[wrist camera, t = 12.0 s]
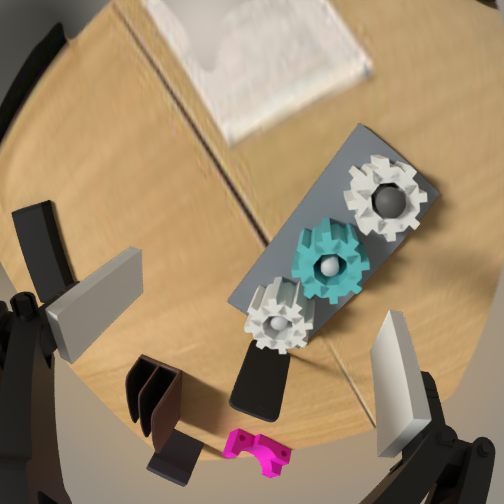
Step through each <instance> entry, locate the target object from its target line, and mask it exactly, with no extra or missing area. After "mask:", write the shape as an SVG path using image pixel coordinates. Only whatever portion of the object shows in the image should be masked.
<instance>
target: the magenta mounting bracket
mask: <svg viewBox="0 0 504 504" xmlns="http://www.w3.org/2000/svg"><path fill="white" fill-rule="evenodd" d="M241 451H247V452H249V453H251V454H253V455H254V456H255V457H256V458H257V459H258V460H259V462H260V464H261V467H262V475H264V476H266V477H268V478H272V477H276V476H280V473H281V469H282V466H283V465H286V464H289V460H290V455H291V450H290V449H288V448H286V447H284V446H282V445H280V444H278V443H276V442H275V441H273V440H271V439H269V438H267V437H265V436H263V435H261V434H259V435H257V436H252V435H250V434H248V433H246V432H245V431H243V430H241V429H239V428H238V429H236V430H234V431H232V432H230V435H229V437H228V440H227V443H226V446H225V449H224V451H223V454H222V455H223V456H224V457H226V458H228V459H230V458H233V457H236V456H238V455H239V453H240V452H241Z"/></svg>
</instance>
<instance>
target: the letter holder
mask: <svg viewBox="0 0 504 504" xmlns="http://www.w3.org/2000/svg"><path fill="white" fill-rule="evenodd" d="M181 382H182V370H179V369H177V368H174V367H172V366H169V365H167V364H164V363H162V362H159V361H157V360H154V359H152V358H150V357H147V356H145V355H143V354H142V355H141V356H140V357H139V358H138V360H137V361H136V362H135V364H134V365H133V367H132V368H131V370H130V371H129V372H128V374H127V376H126V383H125V386H126V396H127V403H128V408H129V412H130V416H131V419H132V421H133V422H134V423H136V422H137V420H138V419H139V417H140V424H141V428H142V431H143V434H144V436H145V437H148V436H149V434H150V433H151V431H152V441H153V445H154V448H155V451H156V453H160V451H161V449H162V448H163V446H164V444H165V443H166V441H167V440H168V438H169V436H170V434H171V433H172V431H173V429H174V427H175V425H176V424H177V422H178V420H179V418H180V400H181Z"/></svg>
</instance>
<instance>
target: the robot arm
mask: <svg viewBox="0 0 504 504" xmlns="http://www.w3.org/2000/svg"><path fill="white" fill-rule="evenodd" d="M485 1H495V0H485ZM142 293H143V273H142V250H141V249H138V248H134V247H131V246H130V247H129V248H128V249H126V250H125V251H123V252H122V253H120V254H119V255H117V256H116V257H114V258H113V259H112V260H110V261H109V262H107V263H106V264H105V265H103V266H102V267H100V268H99V269H98V270H96V271H95V272H93V273H92V274H91V275H89V276H88V277H86V278H85V279H84V280H82V281H81V282H80V281H77V282H75V283H72V284H70V285H68V286H67V287H66V288H64V289H63V290H62V291H60V292H59V293H58V294H57V295H55V296H54V297H52V298H51V299H50V300H48V301H47V302H46V303H44V304H43V305H42V306H40V307H39V308H38V305H37V301H36V297H35V295H34V294H33V293H31V292H20V293H18V294H16V295H14V296H13V297H12V298H11V300H10V304H11V307H12V310H13V312H11V311H8V308H7V305H6V303H5V302H4V301H0V504H72V502H71V500H70V497H69V496H68V494H67V492H66V490H65V488H64V484H63V478H62V473H61V466H60V459H59V452H58V443H57V433H56V420H55V398H54V364H55V357H54V353H53V352H54V351H55V350H56V349H57V348H58V351H59V354H60V357H61V358H63V359H64V360H66V361H68V362H69V363H71V364H73V363H74V362H75V361H76V360H77V359H78V358H79V357H80V356H81V355H82V354H83V353H84V351H85V350H86V349H87V348H88V347H89V346H90V345H91V344H92V343H93V342H94V341H95V340H96V339H97V338H98V337H99V336H100V335H101V334H102V333H103V332H104V331H105V330H106V329H107V328H108V327H109V326H110V325H111V324H112V323H113V322H114V321H115V320H116V319H117V318H118V317H119V316H120V315H121V314H122V313H123V312H124V311H125V310H126V309H127V308H128V307H129V306H130V305H131V304H132V303H133V302H134V301H135V300H136V299H137V298H138V297H139V296H140V295H141V294H142ZM370 355H371V364H372V373H373V383H374V395H375V408H376V426H377V451H378V452H377V455H378V457H390V458H392V457H393V458H394V457H395V456H396V455H398V453H400V452H401V451H402V459H401V460H400V461H399V462H398V463H397V464H396V465H394V466H393V467H392V468H391V469H390V472H389V473H388V475H387V476H386V477H385V478H384V479H383V480H382V481H381V482H380V483H379V485H377V486H376V487H375V488H374V489H373V491H372V492H371V493H370V494H369V495H368V496H367V497H366V498H364V500H362V501H361V503H359V504H420V503H421V502H422V500H423V499H424V498H425V496H426V495H427V493H428V492H429V494H428V496H427V499H426V501H425V503H424V504H486V500H487V496H488V491H489V487H490V482H491V477H492V472H493V466H494V459H495V447H494V445H493V443H492V442H491V441H490V440H489V439H488V438H486V437H479V438H477V439H476V440H475V441H474V442H473V443H469V442H465V441H463V440H459V439H458V437H457V434H456V432H455V431H454V430H453V429H452V428H451V427H449V426H447V425H446V424H445V419H444V416H443V411H442V407H441V403H440V399H439V395H438V392H437V388H436V384H435V381H434V379H433V378H432V376H431V375H430V374H429V372H424V371H420V368H419V364H418V361H417V357H416V354H415V350H414V347H413V343H412V340H411V337H410V334H409V330H408V327H407V324H406V321H405V318H404V315H403V312H398V311H393V310H389V312H388V314H387V316H386V318H385V321H384V323H383V325H382V327H381V329H380V331H379V333H378V335H377V337H376V340H375V342H374V344H373V346H372V348H371V350H370Z"/></svg>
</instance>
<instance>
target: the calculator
mask: <svg viewBox="0 0 504 504" xmlns="http://www.w3.org/2000/svg"><path fill="white" fill-rule="evenodd" d="M203 445H204V443H203V442H200V441H198V440H196V439H194V438H192V437H190V436H188V435H185V434H183V433H181V432H179V431H177V430H175V429H173V431H172V433H171V434H170V436H169V438H168V440H167V441H166V443H165V444H164V446H163V448H162V449H161V451H160V453H156V451H155V452H154V454H153V456H152V458H151V460H150V462H149V464H148V466H147V468H146V469H147V470H149V471H151V472H153V473H155V474H157V475H159V476H161V477H163V478H165V479H167V480H169V481H172V482H174V483H176V484H178V485H180V486H183V487H184V486H185V485H187V483H188V481H189V478H190V477H191V474H192V471H193V469H194V466H195V464H196V462H197V459H198V457H199V455H200V452H201V450H202V447H203Z"/></svg>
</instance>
